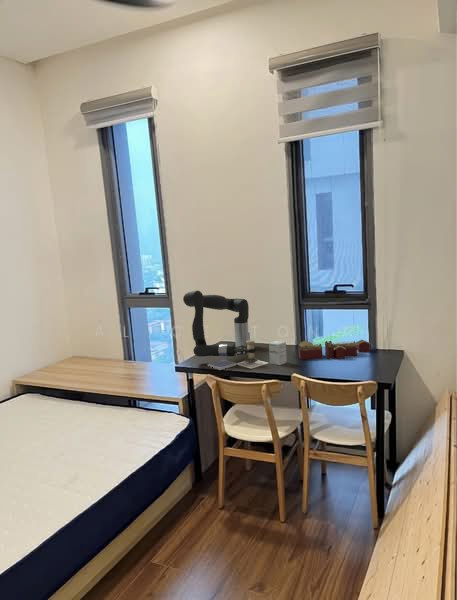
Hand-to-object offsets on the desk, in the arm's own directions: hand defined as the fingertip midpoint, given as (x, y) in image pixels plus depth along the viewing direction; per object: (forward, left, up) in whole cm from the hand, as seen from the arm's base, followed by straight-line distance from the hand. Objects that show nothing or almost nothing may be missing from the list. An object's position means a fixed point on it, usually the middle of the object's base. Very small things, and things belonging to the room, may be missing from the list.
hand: (255, 350), depth 265 cm
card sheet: (+2, -2, -8) cm, 9 cm away
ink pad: (+16, -13, -8) cm, 22 cm away
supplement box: (-9, +9, -9) cm, 16 cm away
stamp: (+2, -2, -7) cm, 7 cm away
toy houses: (-45, +23, -9) cm, 51 cm away
